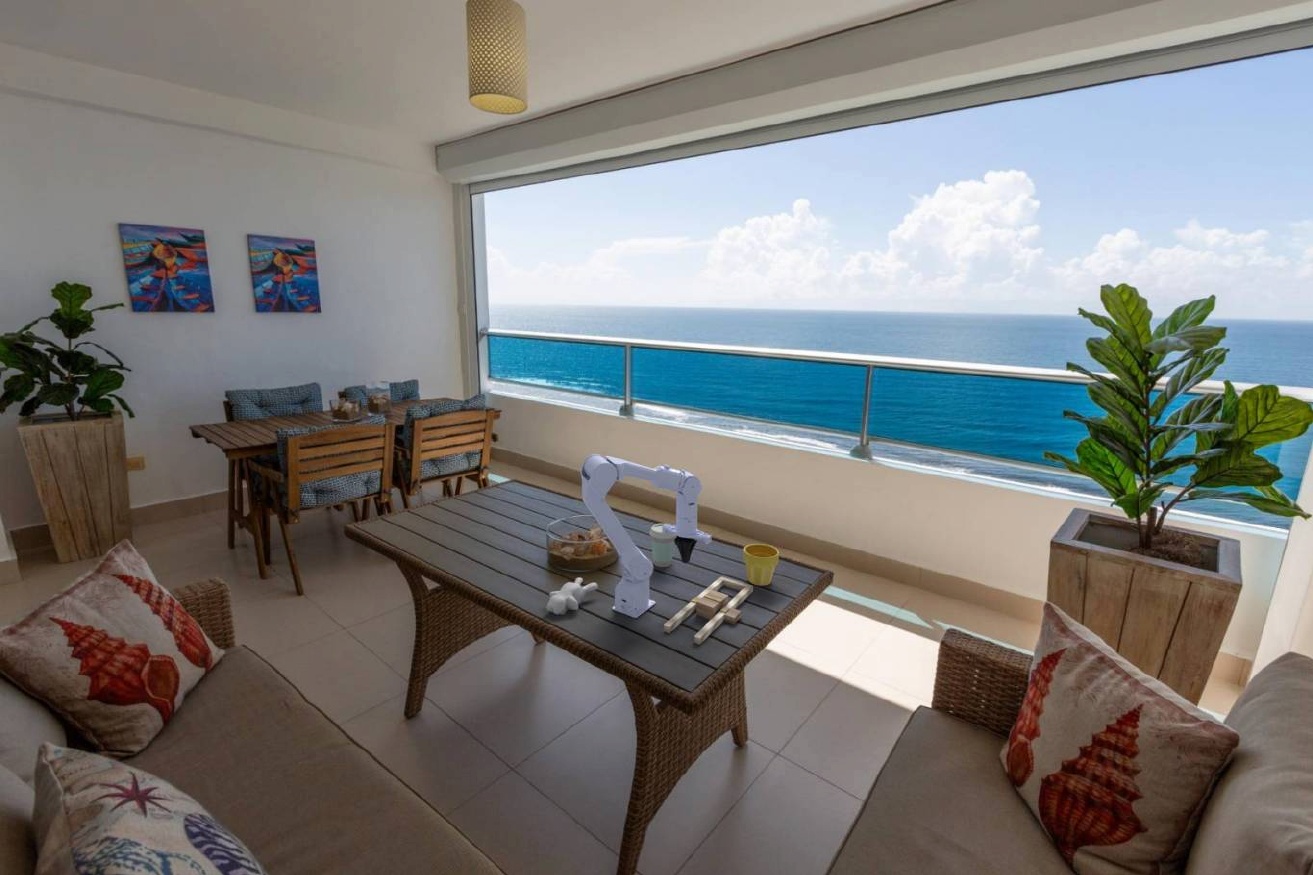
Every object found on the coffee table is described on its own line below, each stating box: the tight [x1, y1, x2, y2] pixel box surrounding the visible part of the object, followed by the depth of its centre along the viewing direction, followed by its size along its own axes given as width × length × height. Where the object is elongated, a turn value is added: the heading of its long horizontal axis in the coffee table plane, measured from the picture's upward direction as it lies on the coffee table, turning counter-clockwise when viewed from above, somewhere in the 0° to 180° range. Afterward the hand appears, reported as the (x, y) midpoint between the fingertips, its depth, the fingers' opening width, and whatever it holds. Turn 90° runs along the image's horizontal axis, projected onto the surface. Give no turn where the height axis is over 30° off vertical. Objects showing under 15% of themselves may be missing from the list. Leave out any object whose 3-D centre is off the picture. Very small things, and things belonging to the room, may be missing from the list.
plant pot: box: [742, 543, 780, 587], centre depth 165 cm, size 10×10×10 cm
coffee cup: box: [649, 523, 676, 568], centre depth 175 cm, size 9×9×12 cm
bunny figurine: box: [545, 577, 599, 616], centre depth 150 cm, size 10×5×15 cm
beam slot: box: [663, 576, 754, 645], centre depth 148 cm, size 32×13×2 cm, turn 147°
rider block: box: [695, 590, 729, 621], centre depth 148 cm, size 8×5×4 cm, turn 144°
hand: (685, 561), depth 154 cm, fingers closed
